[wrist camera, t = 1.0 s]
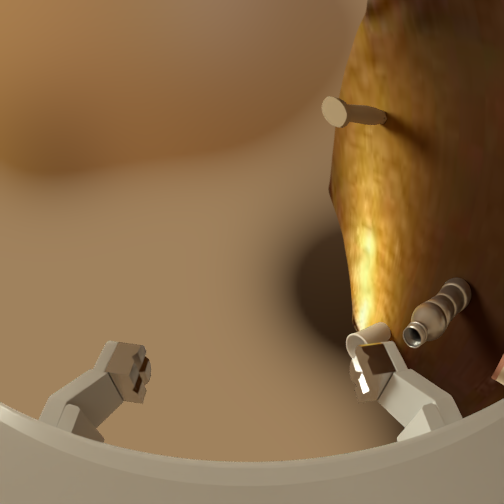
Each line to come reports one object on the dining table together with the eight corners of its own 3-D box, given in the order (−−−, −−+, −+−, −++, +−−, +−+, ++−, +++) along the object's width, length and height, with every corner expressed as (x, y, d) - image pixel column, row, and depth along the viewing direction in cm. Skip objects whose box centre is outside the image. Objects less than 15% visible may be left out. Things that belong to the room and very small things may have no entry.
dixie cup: (369, 315, 69) (343, 330, 65) (394, 320, 62) (368, 338, 57) (371, 341, 70) (347, 358, 66) (395, 348, 63) (370, 368, 58)
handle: (386, 135, 51) (338, 132, 44) (367, 116, 53) (318, 111, 47) (397, 118, 47) (350, 111, 40) (376, 100, 49) (328, 91, 43)
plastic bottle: (464, 311, 43) (417, 364, 35) (442, 291, 48) (389, 336, 39) (479, 287, 39) (437, 338, 31) (455, 267, 44) (405, 309, 35)
